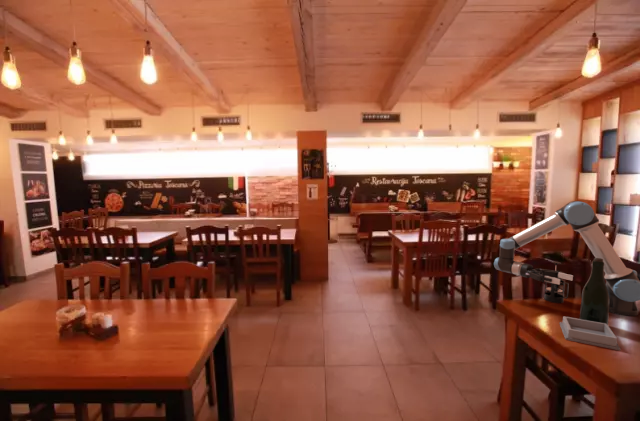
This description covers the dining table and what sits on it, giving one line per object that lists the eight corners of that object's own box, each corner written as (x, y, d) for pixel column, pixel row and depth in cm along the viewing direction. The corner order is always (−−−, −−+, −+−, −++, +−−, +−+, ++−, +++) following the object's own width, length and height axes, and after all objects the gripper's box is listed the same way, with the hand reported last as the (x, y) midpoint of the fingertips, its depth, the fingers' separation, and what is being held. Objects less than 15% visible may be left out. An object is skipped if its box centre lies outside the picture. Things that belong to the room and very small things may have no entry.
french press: (540, 299, 186) (543, 261, 184) (544, 295, 193) (547, 259, 191) (565, 305, 178) (568, 265, 176) (568, 301, 184) (571, 262, 182)
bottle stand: (608, 332, 146) (608, 323, 145) (620, 350, 130) (621, 340, 130) (559, 323, 155) (560, 315, 154) (565, 339, 139) (566, 329, 139)
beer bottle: (613, 328, 149) (619, 260, 147) (596, 330, 147) (601, 261, 144) (590, 319, 160) (595, 255, 157) (573, 321, 158) (578, 256, 155)
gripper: (534, 273, 186) (577, 283, 168) (509, 279, 174) (553, 291, 156) (535, 260, 186) (578, 269, 167) (510, 265, 173) (554, 276, 155)
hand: (566, 280), depth 161 cm, fingers open, 13 cm apart
